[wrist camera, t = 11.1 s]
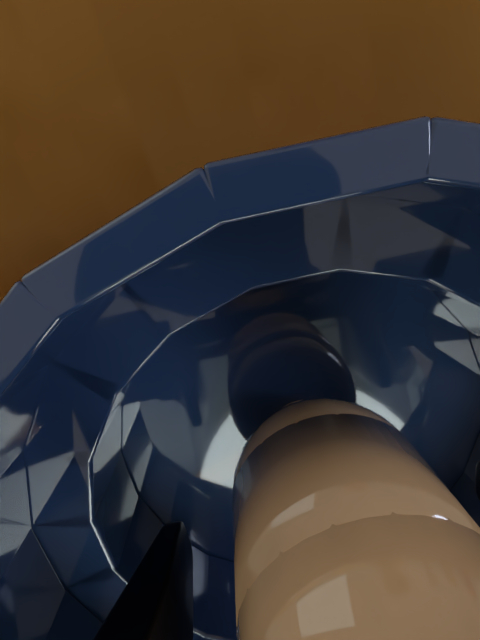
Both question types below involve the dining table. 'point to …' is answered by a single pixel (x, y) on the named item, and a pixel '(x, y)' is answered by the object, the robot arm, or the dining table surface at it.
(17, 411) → the bowl
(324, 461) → the beige rounded peg
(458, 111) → the dining table surface
